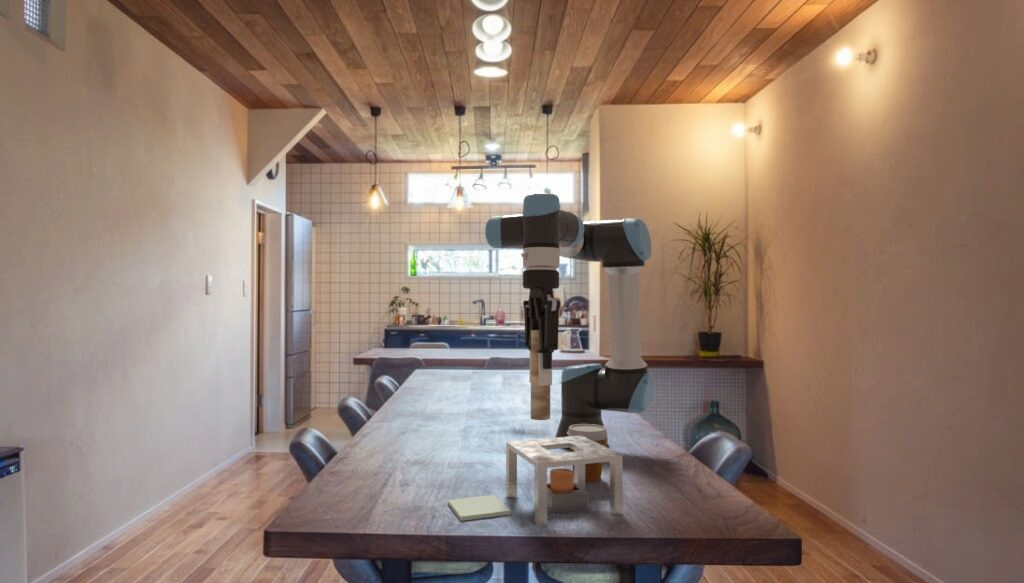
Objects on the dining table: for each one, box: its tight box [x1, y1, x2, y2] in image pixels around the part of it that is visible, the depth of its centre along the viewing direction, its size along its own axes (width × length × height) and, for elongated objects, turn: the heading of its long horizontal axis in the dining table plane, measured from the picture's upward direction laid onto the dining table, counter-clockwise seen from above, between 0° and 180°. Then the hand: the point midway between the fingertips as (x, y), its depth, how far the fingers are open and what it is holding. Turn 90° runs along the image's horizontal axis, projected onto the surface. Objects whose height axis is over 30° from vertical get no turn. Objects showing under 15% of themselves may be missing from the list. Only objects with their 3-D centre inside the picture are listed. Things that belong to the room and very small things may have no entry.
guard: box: [505, 435, 624, 526], centre depth 123 cm, size 18×18×12 cm
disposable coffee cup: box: [567, 424, 609, 484], centre depth 140 cm, size 10×10×12 cm
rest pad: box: [447, 494, 511, 522], centre depth 120 cm, size 10×10×1 cm
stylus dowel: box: [530, 330, 551, 421], centre depth 122 cm, size 4×4×18 cm
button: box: [549, 467, 574, 493], centre depth 123 cm, size 5×5×6 cm
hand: (540, 383), depth 122 cm, fingers closed on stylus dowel, 4 cm apart
